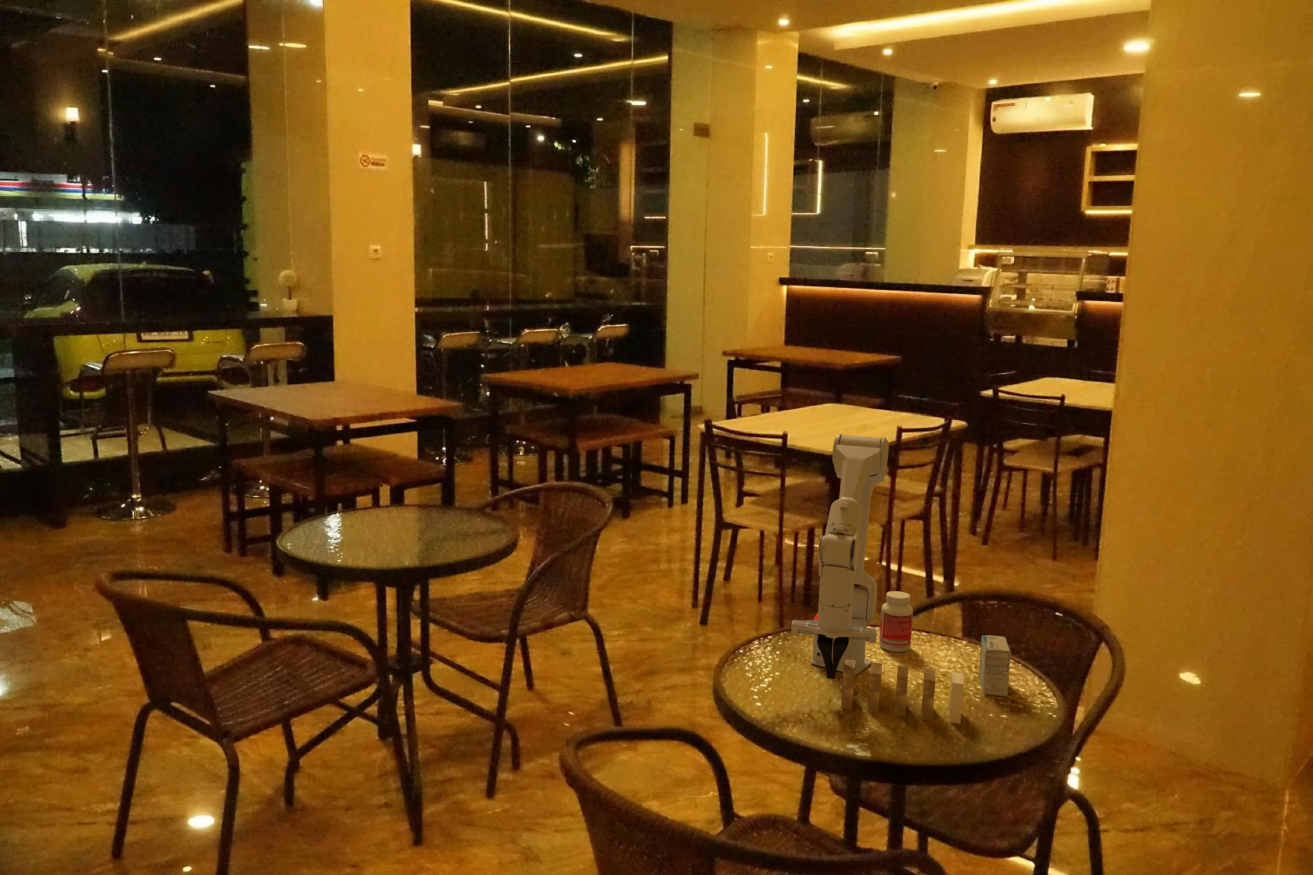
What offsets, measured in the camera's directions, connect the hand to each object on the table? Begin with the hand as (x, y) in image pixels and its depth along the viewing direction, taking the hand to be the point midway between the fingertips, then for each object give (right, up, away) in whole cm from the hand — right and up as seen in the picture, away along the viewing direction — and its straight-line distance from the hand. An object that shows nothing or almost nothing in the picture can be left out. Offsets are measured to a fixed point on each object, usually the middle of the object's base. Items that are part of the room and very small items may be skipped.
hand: (831, 676), depth 182 cm
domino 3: (+12, -5, -2) cm, 13 cm away
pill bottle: (+17, -1, +27) cm, 32 cm away
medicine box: (+31, -4, +9) cm, 32 cm away
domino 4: (+16, -6, -3) cm, 17 cm away
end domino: (+20, -6, -4) cm, 22 cm away
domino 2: (+7, -5, -1) cm, 9 cm away
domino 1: (+3, -5, 0) cm, 5 cm away
